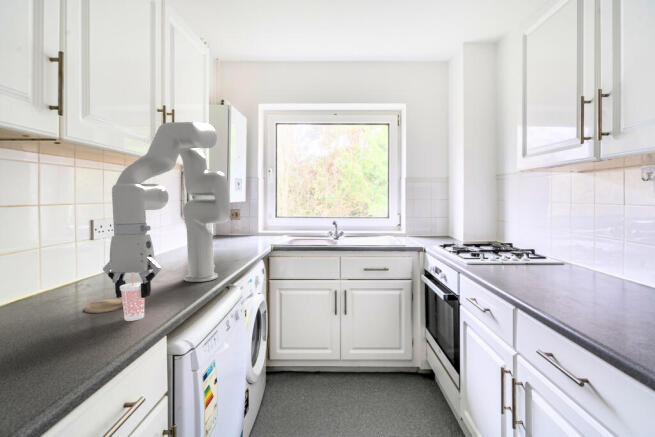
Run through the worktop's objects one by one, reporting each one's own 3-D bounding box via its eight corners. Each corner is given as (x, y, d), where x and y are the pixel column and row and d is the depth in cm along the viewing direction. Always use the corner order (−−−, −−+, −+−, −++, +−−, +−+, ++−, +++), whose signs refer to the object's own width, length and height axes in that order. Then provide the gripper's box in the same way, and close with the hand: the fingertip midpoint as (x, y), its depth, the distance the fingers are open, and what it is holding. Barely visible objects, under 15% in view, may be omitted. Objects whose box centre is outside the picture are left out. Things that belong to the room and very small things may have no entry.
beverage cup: (152, 314, 95) (150, 264, 94) (135, 322, 89) (133, 269, 88) (133, 313, 96) (131, 264, 95) (115, 321, 90) (113, 268, 89)
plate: (102, 301, 108) (102, 298, 107) (136, 301, 107) (136, 298, 107) (75, 312, 97) (74, 309, 97) (112, 313, 96) (112, 309, 96)
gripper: (169, 228, 94) (171, 292, 95) (108, 229, 95) (111, 292, 96) (154, 231, 87) (157, 300, 88) (88, 231, 87) (92, 300, 89)
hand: (133, 295), depth 92 cm, fingers closed on beverage cup, 6 cm apart
